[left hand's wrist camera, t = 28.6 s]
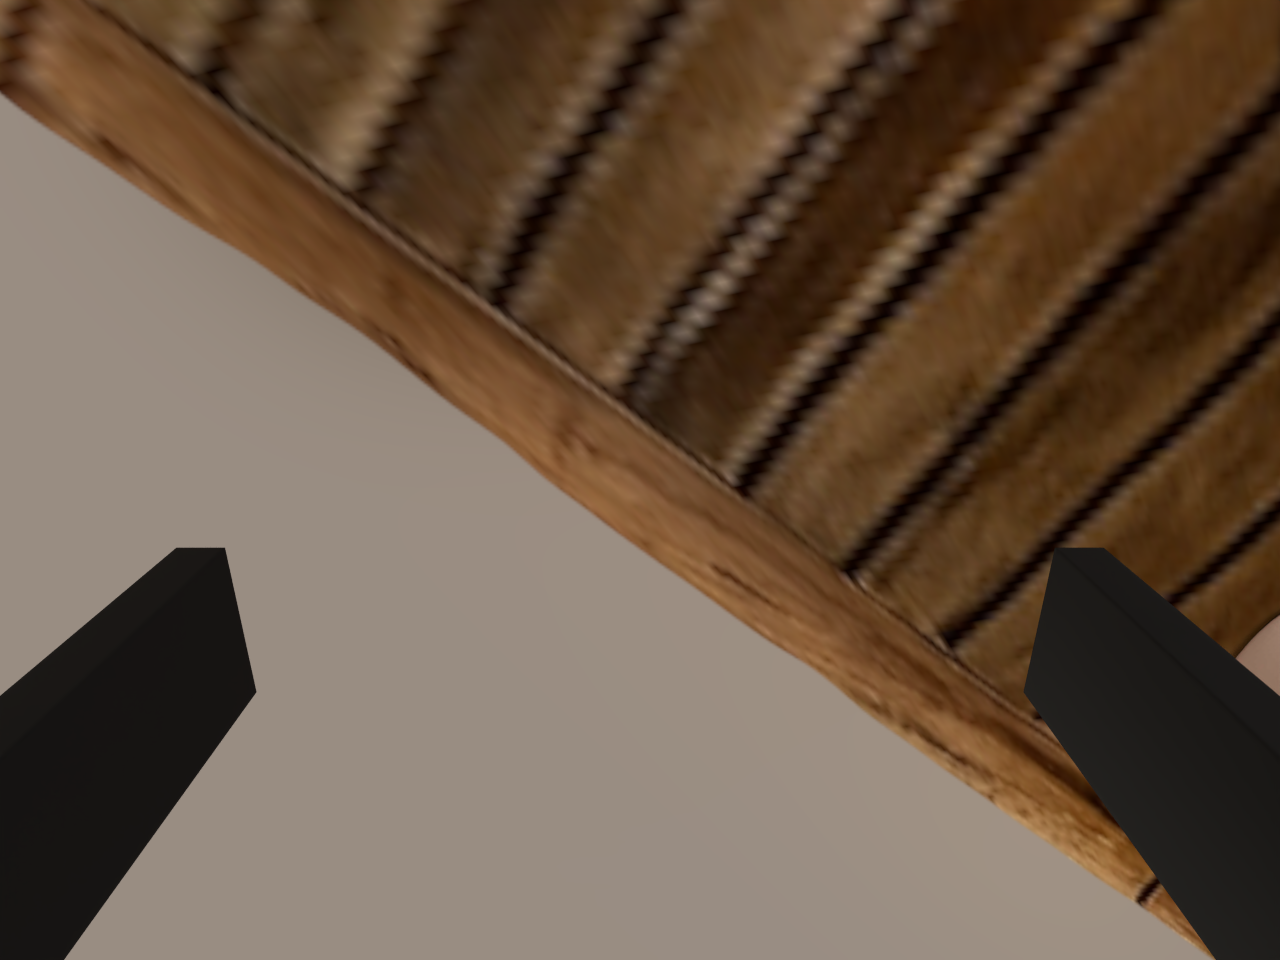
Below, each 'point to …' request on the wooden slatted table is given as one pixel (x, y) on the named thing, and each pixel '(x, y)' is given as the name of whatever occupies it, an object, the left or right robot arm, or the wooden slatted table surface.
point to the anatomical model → (1264, 655)
